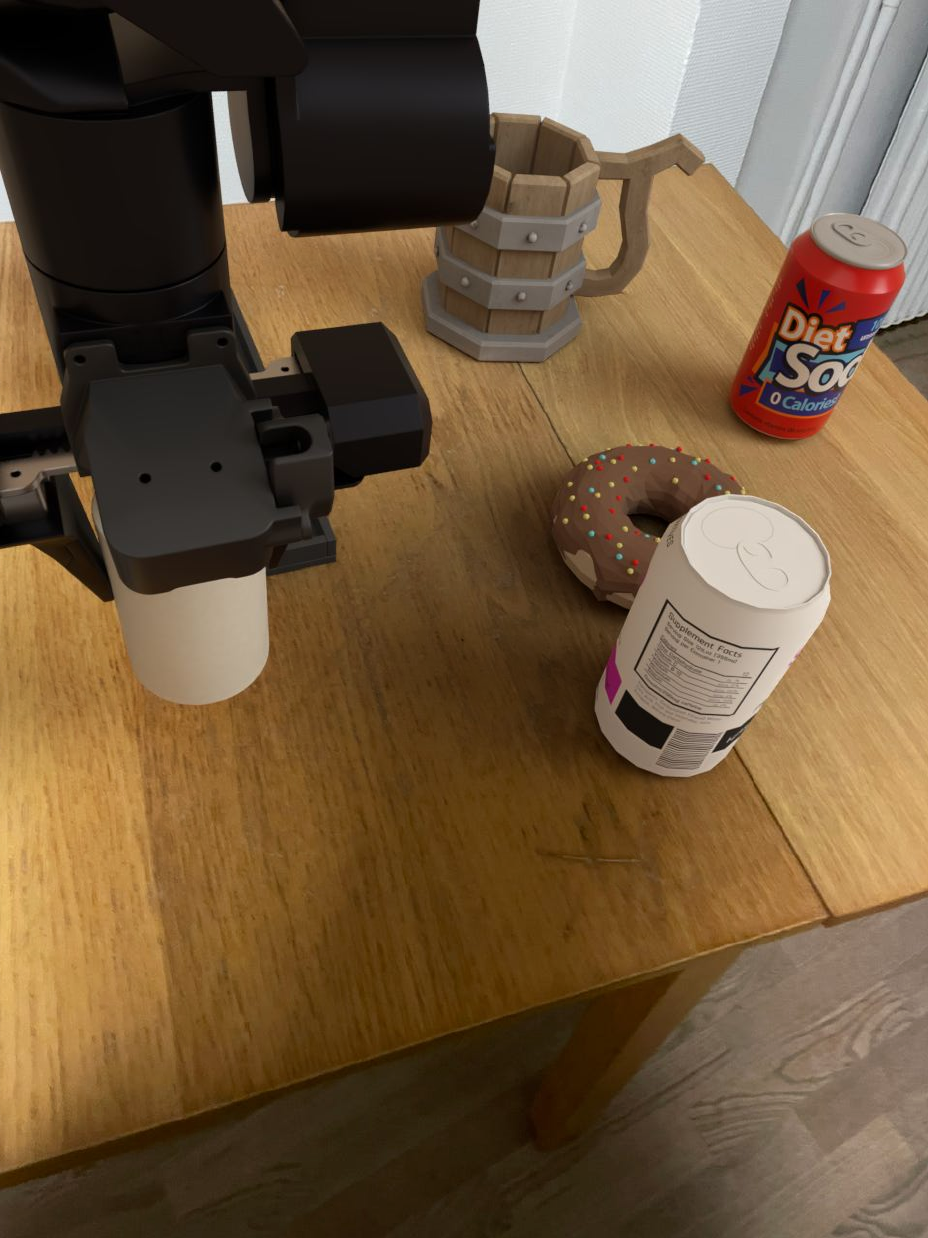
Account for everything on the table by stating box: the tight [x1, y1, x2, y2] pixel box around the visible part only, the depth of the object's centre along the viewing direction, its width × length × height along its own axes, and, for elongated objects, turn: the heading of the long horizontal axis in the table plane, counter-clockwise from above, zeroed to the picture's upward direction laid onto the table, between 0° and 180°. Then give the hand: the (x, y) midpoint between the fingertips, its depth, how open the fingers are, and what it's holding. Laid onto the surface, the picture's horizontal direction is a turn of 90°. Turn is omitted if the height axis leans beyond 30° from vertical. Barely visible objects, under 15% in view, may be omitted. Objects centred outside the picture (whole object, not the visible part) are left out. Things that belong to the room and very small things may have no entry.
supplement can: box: [594, 494, 832, 778], centre depth 47 cm, size 8×8×15 cm
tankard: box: [420, 111, 706, 363], centre depth 70 cm, size 20×13×15 cm, turn 97°
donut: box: [547, 443, 747, 610], centre depth 59 cm, size 14×14×5 cm
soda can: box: [728, 212, 909, 440], centre depth 66 cm, size 8×8×15 cm
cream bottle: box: [90, 492, 270, 706], centre depth 38 cm, size 6×6×13 cm
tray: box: [231, 287, 337, 578], centre depth 63 cm, size 11×31×2 cm, turn 22°
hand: (190, 577), depth 39 cm, fingers closed on cream bottle, 6 cm apart
